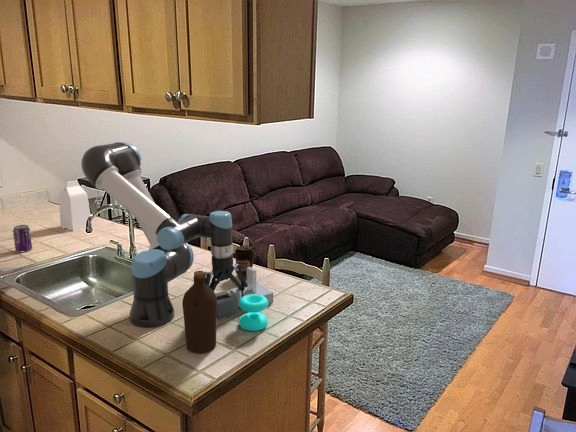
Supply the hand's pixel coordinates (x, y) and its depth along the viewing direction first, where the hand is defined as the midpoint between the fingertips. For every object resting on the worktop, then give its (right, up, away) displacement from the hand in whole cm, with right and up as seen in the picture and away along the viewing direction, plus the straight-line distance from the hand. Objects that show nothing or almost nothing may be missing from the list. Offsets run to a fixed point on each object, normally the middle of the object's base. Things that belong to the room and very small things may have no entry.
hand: (224, 311), depth 176 cm
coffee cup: (+4, +9, +33) cm, 34 cm away
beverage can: (-104, +18, +57) cm, 120 cm away
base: (+9, +2, +10) cm, 13 cm away
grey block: (-1, 0, 0) cm, 1 cm away
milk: (-96, +28, +95) cm, 138 cm away
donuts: (+11, -3, -9) cm, 15 cm away
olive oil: (-4, -7, -22) cm, 24 cm away
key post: (+9, +6, +9) cm, 14 cm away
